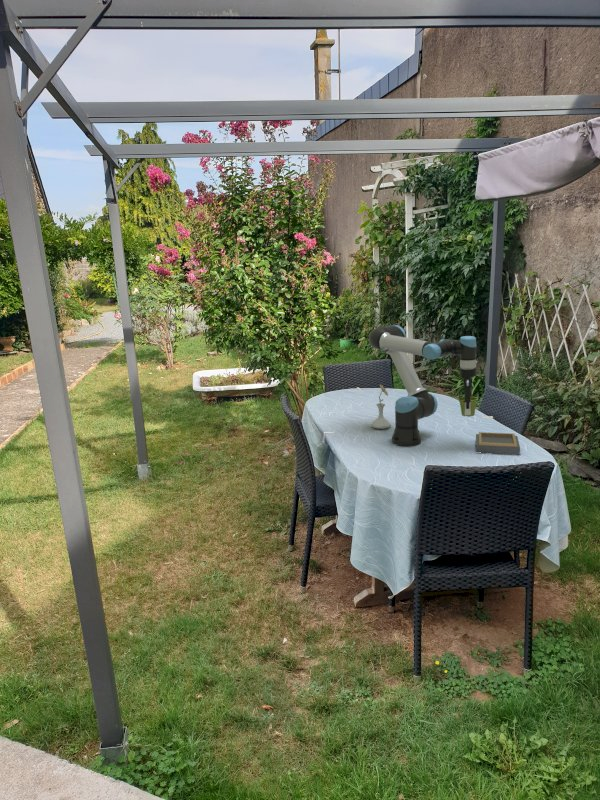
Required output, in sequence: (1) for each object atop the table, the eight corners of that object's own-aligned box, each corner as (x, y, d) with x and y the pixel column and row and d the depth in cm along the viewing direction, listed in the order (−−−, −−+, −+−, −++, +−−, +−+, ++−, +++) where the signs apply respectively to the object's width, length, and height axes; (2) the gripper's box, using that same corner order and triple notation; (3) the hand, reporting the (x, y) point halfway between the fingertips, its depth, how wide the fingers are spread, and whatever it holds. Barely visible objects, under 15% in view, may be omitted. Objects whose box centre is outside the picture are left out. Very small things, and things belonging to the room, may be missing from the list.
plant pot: (464, 418, 279) (464, 401, 277) (454, 414, 288) (454, 397, 286) (481, 416, 281) (481, 399, 279) (471, 412, 290) (471, 395, 288)
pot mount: (476, 452, 279) (476, 442, 278) (475, 441, 296) (476, 431, 295) (519, 455, 274) (520, 444, 272) (516, 443, 290) (517, 433, 289)
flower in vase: (390, 430, 320) (390, 387, 314) (370, 430, 322) (369, 387, 316) (391, 424, 332) (391, 382, 326) (372, 423, 335) (371, 382, 328)
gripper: (475, 372, 267) (475, 418, 272) (476, 364, 288) (476, 407, 293) (459, 372, 270) (459, 417, 275) (461, 364, 290) (461, 406, 295)
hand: (468, 412), depth 284 cm, fingers closed on plant pot, 9 cm apart
